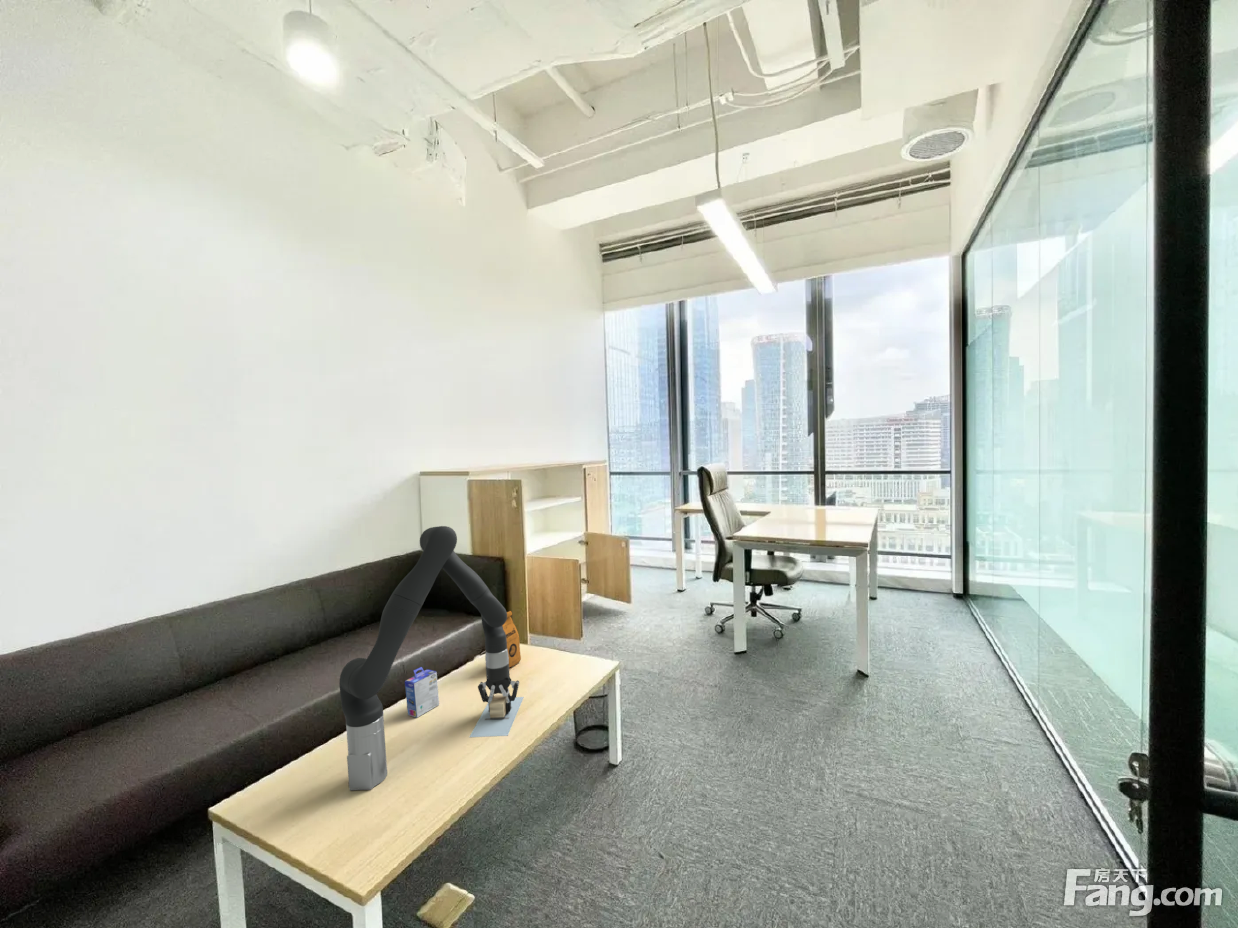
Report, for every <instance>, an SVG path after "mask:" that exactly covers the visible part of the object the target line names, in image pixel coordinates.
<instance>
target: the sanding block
mask: <svg viewBox="0 0 1238 928" xmlns="http://www.w3.org/2000/svg"><path fill="white" fill-rule="evenodd" d="M489 706H490V719H504V718H505V716H506V701H505V698H504V697H503V695H502V694H500V693H497V694H495V695H494V697H493V699H492V701H491V703H490V704H489Z"/></svg>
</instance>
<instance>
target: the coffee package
mask: <svg viewBox="0 0 1238 928" xmlns="http://www.w3.org/2000/svg"><path fill="white" fill-rule="evenodd" d="M506 612H507V620H506V622H505V623H504V624H503V630H504V631H505V633H506V639H507V651H508V657H509V668H511V667H514V666H515V665H517V664H519V663H520V662H521V659H522V656H521V646H520V645H521V644H520V636H519V635H520V634H519V631H518V630H517V626H516V625H515V623H514V621H513V619H512V617H511V616H512V615H513V612H512V611H511V610H509V611H506Z"/></svg>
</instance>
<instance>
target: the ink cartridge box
mask: <svg viewBox="0 0 1238 928" xmlns="http://www.w3.org/2000/svg"><path fill="white" fill-rule="evenodd" d="M418 671H419V672H418ZM437 674H438V673H437V671H436V670H432V669H425V670H424V668H423V667H422V666H420V667H418V668H416V669H413V676H412V677H409V678H408V679H406V680H405V681H404V687H405V697H406V708H407V716H410V717H413V718H415V719H417V718H419V717H421V716H422V715H424V714H426V713H427V712H429V711H431V710H433V709H434V708H436V707H438V706H439V705H440V700H439V698H440V697H439V685H438V675H437Z"/></svg>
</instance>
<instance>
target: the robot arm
mask: <svg viewBox="0 0 1238 928" xmlns="http://www.w3.org/2000/svg"><path fill="white" fill-rule="evenodd" d="M457 543H458V537H457V533H456V531H455V530H454V529H453V528H452V527H450V526H446V525H441V526H440V525H439V526H433V527H432V526H431V527H429V528H426V529H425V530H423V531H422V533H421V535H420V538H419V546H420V548H421V550H422V551H423V552H422V553H421V555H420V557H419V559H418V561H417V562H416V564H415V565H414V567H412V569H411V570H410V571H409V572H408V573H407V574H406V576H404V578H403V579H402V580H401V581H400V582H399V584H398V585H397V586H396V587H395V588H394V590H393V592H392V593H391V595H390V597H389V599H388V601H387V602H386V604H385V606H384V608H383V610H382V614H381V617H380V623H379V628H378V634H377V638H376V641H375V644H374V646H373V647H372V650H371V651H370V653H369V654H368V656H367V658H365V657H357V658H354V659H351V660H350V661H349V662H347V663H346V664H345V666H344V667H343V668H342V670H341V673H340V675H339V681H338V682H339V696H340V704H341V709H342V713H343V716H344V719H345V726H346V727H345V728H346V742H347V745H346V746H347V756H346V762H347V776H348V777H347V779H348V790H349V791H364V790H365V791H367V790H373V788H375V786H377V785H379V784H380V783H383V781H384V780H385V779H386V777H387V776H388V764H387V752H386V751H387V750H386V736H385V722H384V721H385V720H384V706H383V704H382V701H381V700H380V699H379V698H380V697H378V693H379V692H380V691H381V690H382V688H383V687H384V685H385V683H386V681H387V678H388V676H389V674H390V671H391V669H392V667H393V664H394V662H395V660H396V657H397V655H398V652H399V650H400V648H401V646H402V644H403V643H404V640H405V638H406V637H407V635H408V633H409V631H410V628H411V627H412V625H413V624H414V621H415V620H416V618H417V617H418V615H419V612H420V610H421V609H422V608H423V605H424V602H425V601H426V598H427V597H428V595H429V593H430V591H431V589H432V587H433V586H434V583H435V581H436V579H437V577H438V575H439V573H440V572H441V570H443V571H444V572H445V573H446V574H447V575H448V576H449V577H450V578H451V580H452V581H453V582H454V583H455V585H456V586H457V587H458V588H459V589H460V591H461V592H462V594H464V596H465V597H466V599H467V600H468V601H469V603H470V604H472V605H473V606H474V607H475V608H476V609H477V610H478V612H479V613H480V617H481V624H482V630H483V633H484V646H485V647H484V648H485V649H484V650H485V656H484V659H485V660H484V661H485V674H486V675H485V676H486V680H485V681H484V682H483V681H480V682H479V683H478V685H477V689H478V692H479V695H480V698H481V700H482V702H483V703H487V704H490V703H491V701H492V699H493V697H494V695H495V694H497V693H500V694H502V695H503V697H504V698H505V701H506V714H509V712H510V710H511V701H514V700H515V698H516V697H517V694H518V691H519V685H520V681H519V680H515V681H514V680H512V678H511V676H510V667H509V657H508V651H507V639H506V633H505V631H504V630H503V624H504V623H505V622H506V620H507V612H508V611H507V610H506V608H505V607H504V606H503V604H502V603H501V602H500V601H499V600H498V598H496V597H495V596H494V595H493V593H492V592H491V590H490V588H489V587H488V586H487V584H486V583H485V581H483V579H482V577H480V575H478V573H477V572H476V571H474V569H472V568H471V567H470V566H468V565H467V564H466V563H465V562H464V561H463V560H462V559H461V558H460V557H459V555H458V554H457V553H456V551H455V549H456V546H457ZM510 686H511V688H512V693H511V694H510V689H509V687H510ZM486 688H487V689H488V690H489V691H490V692H489V695H488V692H487V689H486ZM489 712H490V706H489Z"/></svg>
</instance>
